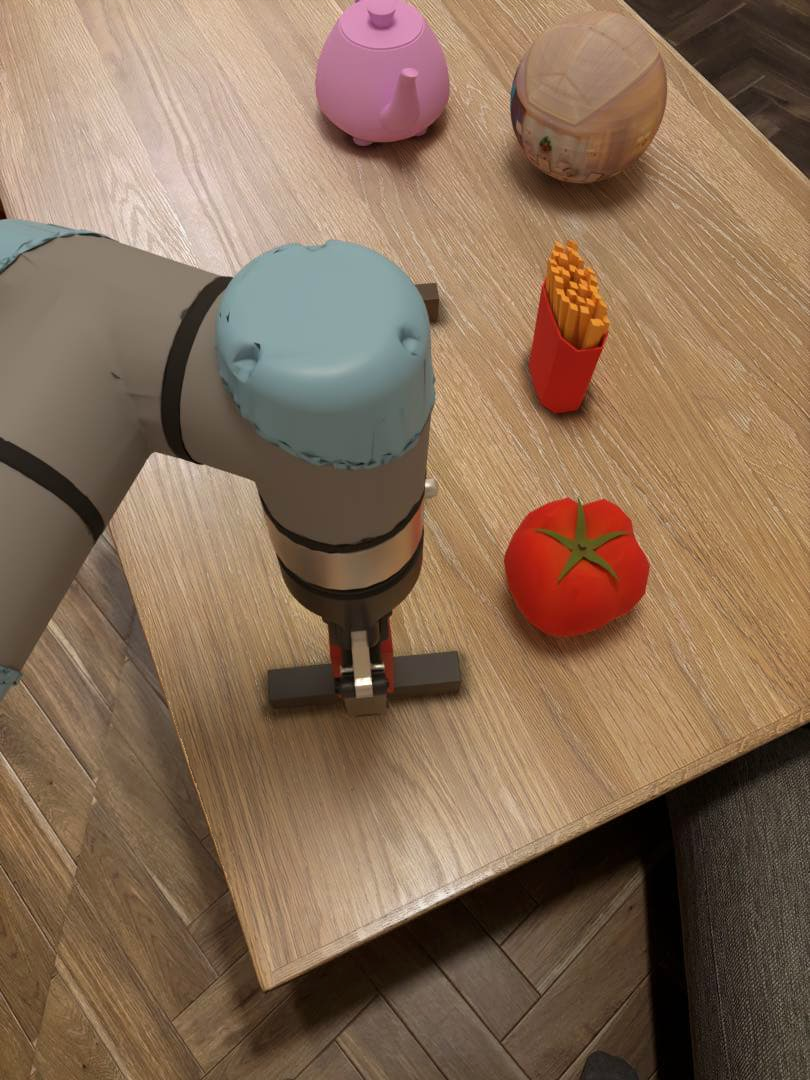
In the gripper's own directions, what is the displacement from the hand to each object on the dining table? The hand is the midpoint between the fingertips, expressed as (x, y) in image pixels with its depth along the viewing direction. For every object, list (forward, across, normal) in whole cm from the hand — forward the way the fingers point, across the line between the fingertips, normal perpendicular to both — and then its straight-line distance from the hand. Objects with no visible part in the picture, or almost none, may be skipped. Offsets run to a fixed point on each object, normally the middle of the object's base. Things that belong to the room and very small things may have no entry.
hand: (364, 676), depth 63 cm
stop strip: (+2, +36, 0) cm, 36 cm away
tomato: (+2, +6, -17) cm, 18 cm away
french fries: (+2, +27, -20) cm, 33 cm away
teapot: (+2, +63, -8) cm, 64 cm away
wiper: (+2, 0, 0) cm, 2 cm away
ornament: (+2, +54, -27) cm, 61 cm away
